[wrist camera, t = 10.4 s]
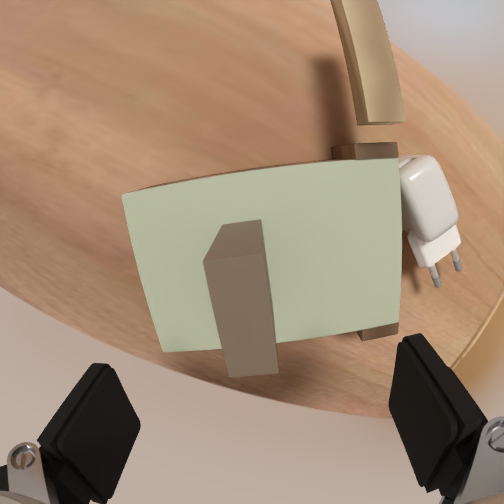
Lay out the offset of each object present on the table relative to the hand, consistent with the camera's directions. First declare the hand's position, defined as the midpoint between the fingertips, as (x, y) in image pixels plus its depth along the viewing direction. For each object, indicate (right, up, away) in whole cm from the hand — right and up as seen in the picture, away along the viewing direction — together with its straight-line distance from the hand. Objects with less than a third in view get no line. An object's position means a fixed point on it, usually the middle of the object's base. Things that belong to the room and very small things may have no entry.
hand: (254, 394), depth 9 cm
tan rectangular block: (+7, +17, +6) cm, 19 cm away
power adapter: (+14, +8, +16) cm, 22 cm away
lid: (+1, +4, +12) cm, 12 cm away
